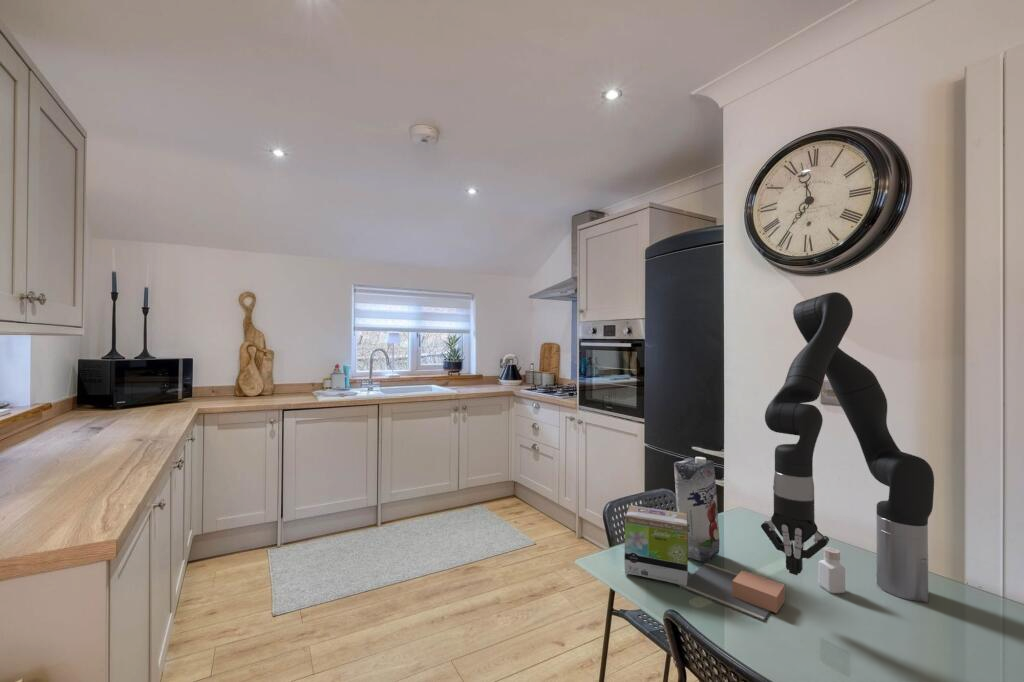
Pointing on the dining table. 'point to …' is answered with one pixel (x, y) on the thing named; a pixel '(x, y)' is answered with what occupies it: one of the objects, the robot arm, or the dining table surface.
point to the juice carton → (698, 506)
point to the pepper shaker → (832, 571)
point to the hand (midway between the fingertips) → (794, 572)
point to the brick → (758, 591)
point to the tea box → (656, 544)
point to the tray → (721, 590)
